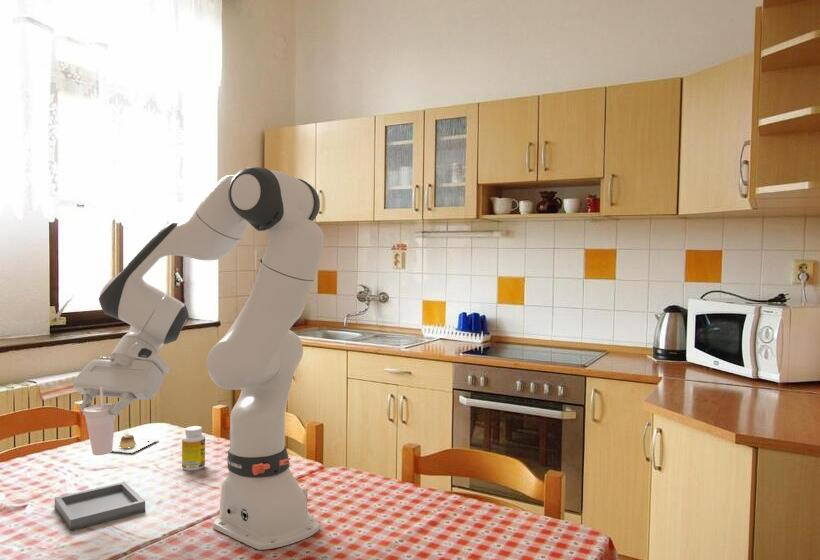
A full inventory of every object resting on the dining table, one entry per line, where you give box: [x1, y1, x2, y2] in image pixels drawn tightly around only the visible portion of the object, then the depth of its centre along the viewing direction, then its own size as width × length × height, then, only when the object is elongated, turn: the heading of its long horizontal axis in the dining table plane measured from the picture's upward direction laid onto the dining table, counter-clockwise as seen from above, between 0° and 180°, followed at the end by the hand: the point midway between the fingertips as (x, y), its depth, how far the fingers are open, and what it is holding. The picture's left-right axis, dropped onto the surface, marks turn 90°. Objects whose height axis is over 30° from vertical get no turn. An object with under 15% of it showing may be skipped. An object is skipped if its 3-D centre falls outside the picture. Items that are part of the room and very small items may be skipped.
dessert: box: [112, 431, 159, 454], centre depth 167 cm, size 12×12×5 cm
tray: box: [54, 481, 146, 532], centre depth 126 cm, size 14×14×2 cm
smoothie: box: [82, 387, 116, 456], centre depth 125 cm, size 6×6×14 cm
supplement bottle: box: [181, 425, 206, 472], centre depth 151 cm, size 6×6×10 cm
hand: (98, 412), depth 125 cm, fingers closed on smoothie, 6 cm apart
